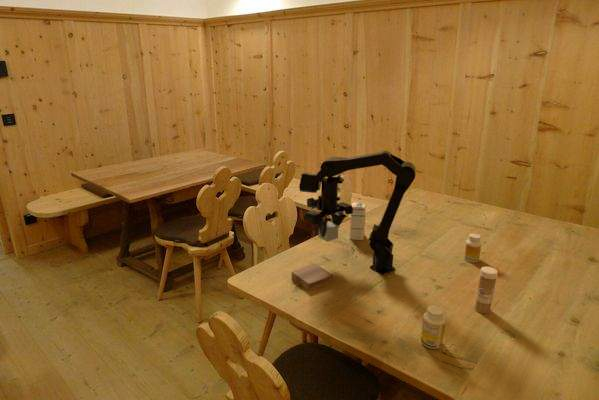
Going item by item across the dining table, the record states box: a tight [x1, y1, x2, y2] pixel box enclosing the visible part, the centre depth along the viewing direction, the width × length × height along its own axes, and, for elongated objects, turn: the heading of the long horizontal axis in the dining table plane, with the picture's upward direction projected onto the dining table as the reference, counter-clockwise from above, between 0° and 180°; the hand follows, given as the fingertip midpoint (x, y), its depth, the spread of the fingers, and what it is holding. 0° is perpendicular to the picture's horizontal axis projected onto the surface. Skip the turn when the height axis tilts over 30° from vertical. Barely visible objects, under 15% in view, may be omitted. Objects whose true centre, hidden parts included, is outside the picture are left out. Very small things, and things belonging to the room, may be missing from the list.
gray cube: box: [317, 220, 339, 243], centre depth 146 cm, size 5×5×5 cm
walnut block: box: [291, 263, 334, 292], centre depth 136 cm, size 10×10×3 cm
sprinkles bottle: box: [474, 266, 499, 314], centre depth 119 cm, size 5×5×13 cm
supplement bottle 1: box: [420, 305, 447, 350], centre depth 105 cm, size 6×6×10 cm
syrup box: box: [349, 202, 367, 241], centre depth 168 cm, size 6×6×14 cm
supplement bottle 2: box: [463, 233, 482, 263], centre depth 150 cm, size 5×5×10 cm
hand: (328, 234), depth 146 cm, fingers closed on gray cube, 5 cm apart
